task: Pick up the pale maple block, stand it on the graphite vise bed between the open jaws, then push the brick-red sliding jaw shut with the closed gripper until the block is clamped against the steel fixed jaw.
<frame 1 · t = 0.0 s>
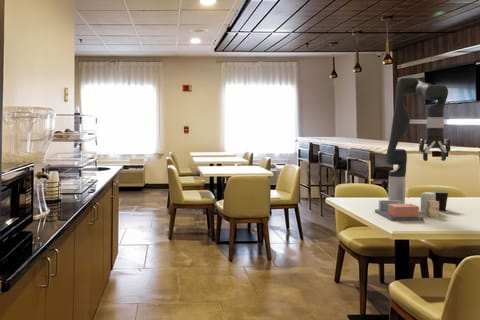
hand: (434, 160, 211), 29 cm above the table, fingers open, 8 cm apart
coffee mug: (440, 209, 244), on the table
sliding jaw: (402, 210, 219), point 4 cm above the table, slide at 0.0 cm
maple block: (432, 216, 224), on the table
small box: (427, 212, 235), on the table
vise: (397, 215, 225), on the table
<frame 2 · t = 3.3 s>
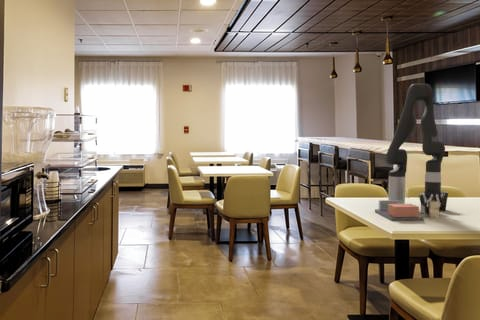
hand: (432, 213, 224), 1 cm above the table, fingers closed on maple block, 4 cm apart
maple block: (432, 216, 224), on the table, touching gripper
everything else where it was.
when the fingers open (4 cm above the table, at t = 10.4 s): maple block stays where it is, resting on vise.
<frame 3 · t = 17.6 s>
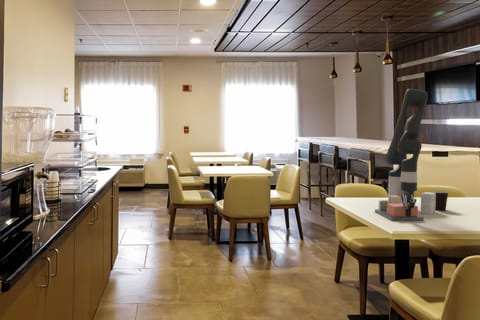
hand: (408, 216, 213), 2 cm above the table, fingers closed
sliding jaw: (401, 209, 220), point 4 cm above the table, slide at 1.3 cm, touching gripper
maple block: (394, 211, 231), point 1 cm above the table, touching vise
everything else where it was.
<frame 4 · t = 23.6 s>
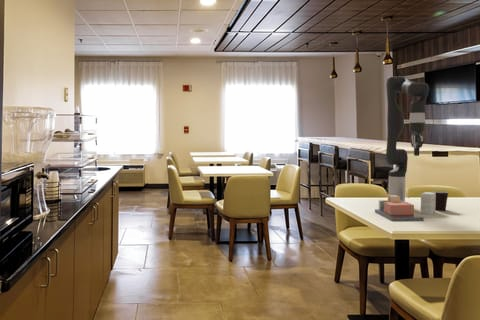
hand: (416, 155, 226), 31 cm above the table, fingers closed
sliding jaw: (398, 208, 224), point 4 cm above the table, slide at 5.5 cm, touching maple block
maple block: (393, 210, 232), point 1 cm above the table, touching sliding jaw, vise
everything else where it was.
at the end: maple block 0.7 cm from the target spot, point 1.5 cm above the table; maple block tilted 0°; sliding jaw slide at 5.5 cm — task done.
